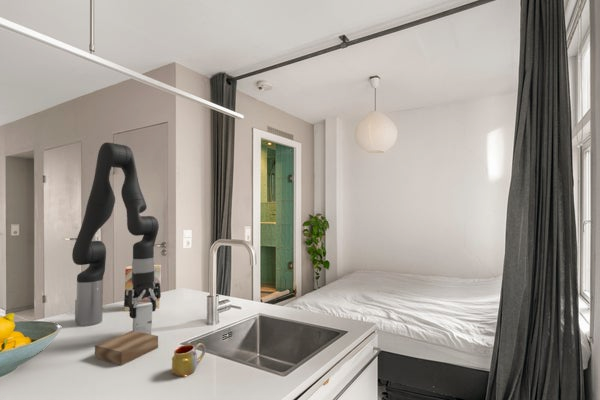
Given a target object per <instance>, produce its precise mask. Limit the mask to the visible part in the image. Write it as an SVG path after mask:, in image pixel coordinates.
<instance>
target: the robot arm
mask: <svg viewBox="0 0 600 400" xmlns="http://www.w3.org/2000/svg"><path fill="white" fill-rule="evenodd" d="M112 168H115V169H116V168H117V169H121V170H122V172H123V174H124V179H123V180H124V181H123V183H122V186H121V192H120V193H121V198H122V202H123V204H124V206H125V210H126V227H127V230H128V232H129V233H130V234H131V235H132V236H136V237H137V236H138V237H139V236H142V239H141V240H139V241H137V242H135V243H134V244H133V245H132V263H131V266H132V284H133V289H131V290H125V289H124V297H123V298H124V299H123V300H124V301H123V307H124V308H125V307H129V311H128V312H129V313H128V314H129V317H130V319H133V318H136V306H137V304H138V302H140V300H141V299H144V298H145V297H146V298H147V297H148V298H149V299H150V302H151V303H152V313H153V312H156V309H157V308H156V301H157V299H158V298H160V299H161V297H162V295H161V293H162V291H161V282H160V283H156V282H154V265H155V258H154V257H155V256H154V255H155V253H154V252H155V251H154V250H155V248H154V247H155V244H156V241H157V236H158V232H159V228H160V227H159V225H160V224H159V221H158V219H157V218H156V217H155V216H153V215H146V216H145V215H140V214H142V213H143V212H145V211H146V210H147V203H146V200H145V196H144V195H143V193H142V190H141V187H140V183H139V177H138V172H137V166H136V162H135V157H134V153H133V151H132V149H131V148H130V147H129V146H127V145H124V144H119V143H113V142H109V141H108V142H103V143H102V144H101V145H100V147H99V150H98V152H97V160H96V165H95V171H94V178H93V182H92V186H91V189H90V193H89V196H88V200H87V204H86V206H85V207H86V208H85V212H84V216H83V220H82V223H81V226H80V229H79V231H78V235H77V237H76V239H75V243H74V246H73V248H72V253H71V254H72V255H71V257H72V261H73V263H74V264H75V265H78V266H83V265H84V266H85V265H89V266H88V267H87V268H86V269H85V270H83V271H81V272H80V273H78V274H77V276H76V299H75V301H74V303H75V304H74V306H75V307H74V323H75V324H76V326H78V327H79V326H80V327H82V326H83V327H85V326H86V327H87V326H88V327H89V326H93V325H96V324H99V323H101V322H102V321H103V313H104V311H103V310H104V308H103V307H104V275H105V272H106V261H107V248H106V244H105V243H104V242H103V241H101V240H94V237H95V235H96V234H97V232H98V231H99V230H100V229H101V228H102V227H103V226H104V225H105V224H106V222H108V220H109V219H110V218H111V217H112V215H113V211H114V207H115V203H116V196H115V192H114V190H113V188H112V186H111V182H110V176H111V175H110V174H111V170H112ZM153 282H154V283H153ZM152 290H153V291H152ZM132 295H133V296H132ZM135 298H137V299H135ZM133 303H134V304H133Z"/></svg>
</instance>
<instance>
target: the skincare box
mask: <svg viewBox="0 0 600 400" xmlns="http://www.w3.org/2000/svg"><path fill="white" fill-rule="evenodd" d="M152 324H153V312H152V303H151V302H141V303H138V304H137V306H136V318H132V331H137V332H142V333H146V334H151V335H152V330H153V329H152V328H153V327H152V326H153V325H152Z"/></svg>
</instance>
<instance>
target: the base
mask: <svg viewBox="0 0 600 400" xmlns="http://www.w3.org/2000/svg"><path fill="white" fill-rule="evenodd" d="M157 349H159V336H158V335H157V334H152V333H151V334H146V333H142V332H137V331H133V330H131V331H128V332H126V333H123V334H121V335H120V334H119V335H118V336H115V337H113V338H110V339H107V340H105V341H103V342H100V343H97V344H95V345H94V358H95V359H97V360H100V361H104V362H108V363H111V364H114V365H117V366H123V365H125V364H127V363H129V362H132V361H134V360H136V359H139V358H140V357H142V356H144V355H146V354H149V353H151V352H152V351H154V350H157Z"/></svg>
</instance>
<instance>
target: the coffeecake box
mask: <svg viewBox="0 0 600 400" xmlns="http://www.w3.org/2000/svg"><path fill="white" fill-rule="evenodd" d="M161 268H162V265H161V264H154V282H156V283H160V284H161V279H162V278H161V272H162V269H161ZM124 271H125V273H124V274H125V277H124V278H125V280H124V283H125V284H124V291H125V290H131V289H133V284H132V265H129V266H128V265H127V266H126V267H125V270H124ZM154 282H153V283H154ZM152 291H153V290H152ZM132 296H133V295H132ZM135 299H137V298H135ZM141 302H150V299H149V298H148V297H147V298H146V297H145V298H144V299H141V300H140V302H138V303H141ZM133 304H134V303H133ZM160 307H161V297H160V298H158V299H157V301H156V309H159V308H160ZM124 311H125V312H129V307H124Z"/></svg>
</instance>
